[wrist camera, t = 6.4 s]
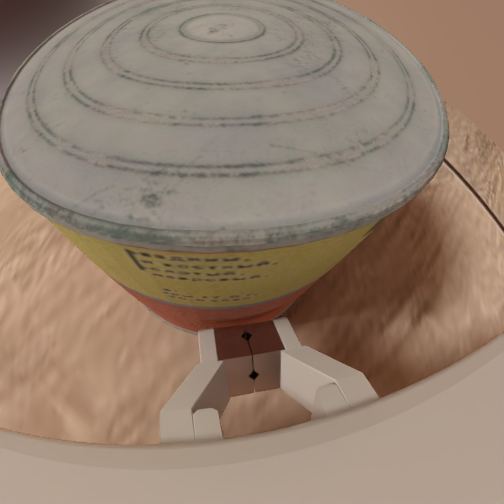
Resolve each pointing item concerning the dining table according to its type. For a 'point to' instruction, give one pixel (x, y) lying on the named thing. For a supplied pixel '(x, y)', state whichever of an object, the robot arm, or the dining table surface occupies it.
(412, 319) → the dining table surface
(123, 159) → the canned food
